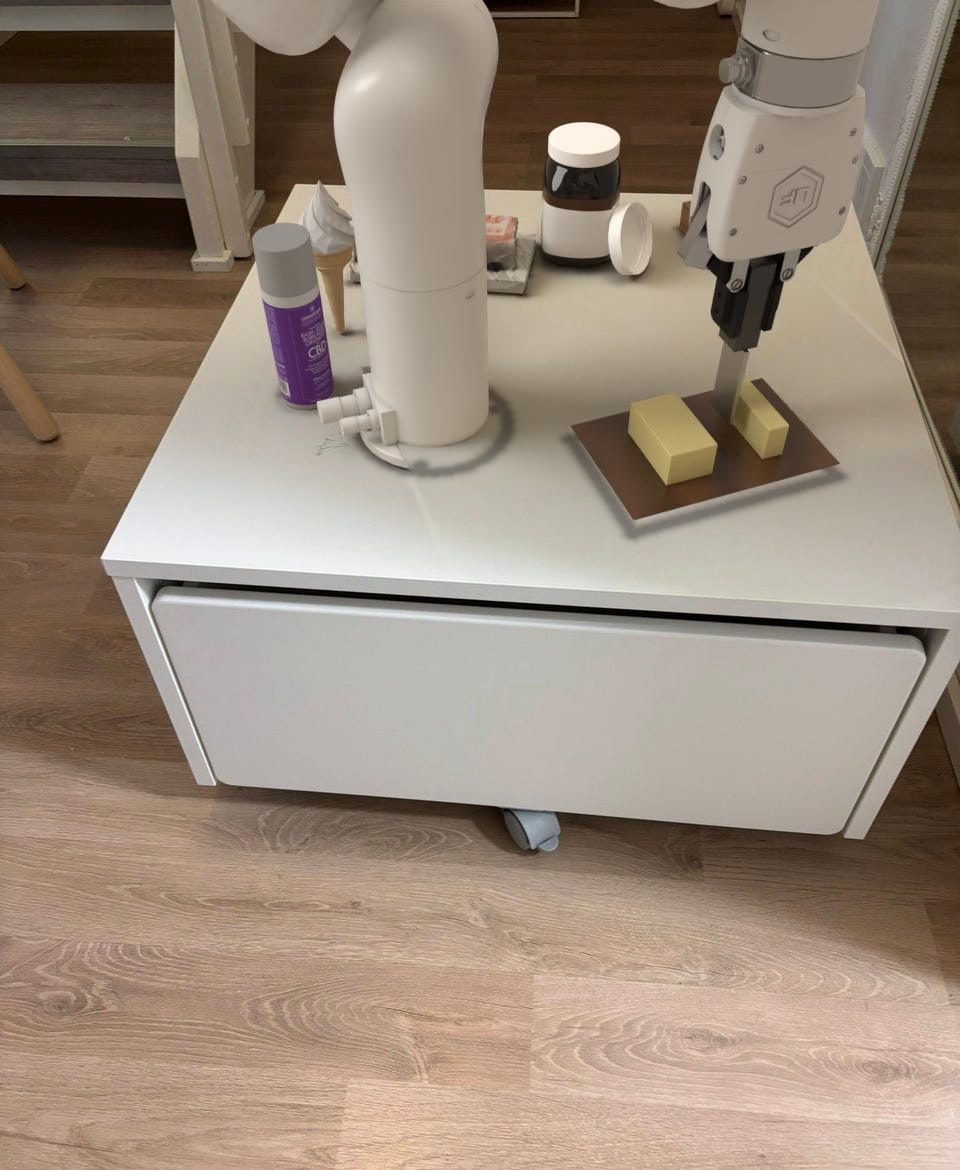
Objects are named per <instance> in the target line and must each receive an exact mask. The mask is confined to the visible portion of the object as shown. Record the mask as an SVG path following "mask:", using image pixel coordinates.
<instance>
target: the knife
mask: <svg viewBox="0 0 960 1170" xmlns="http://www.w3.org/2000/svg"><path fill="white" fill-rule="evenodd" d="M776 266H777V263H776V262H775V261H774V260H773V259H772V258H771V257H770V256H769V255H768V256H763V257H758V258H753V259H750V261H749V266H748V270H747V275H746V279H745V284H744V287H745V288H746V290H748V291H749V297H748V302H747V306H746V311H745V315H744V320H743V324H742V329H741V333H740V335H739V336H738V338H734V339H729V338H728V336H727V335H726V334H725V333H724V332H723V331H722V330H721V329H720V328H719V331H718V337H720V338H721V340H722V341H723V343H722V348H721V352H720V357H719V362H718V366H717V372H716V376H715V381H714V385H713V389H712V390H713V395H712V400H711V405H712V407H713V408H714V409H715V410H716V411H717V413H718V414H719V415H720V416H721V418H722V419H723V420H724V421H725V422H726V424H727V425H728V426H731V425H733V421H734V417H735V413H736V408H737V404H738V400H739V395H740V391H741V387H742V383H743V378H744V375H745V373H746V370H747V365H748V361H749V356H750V350H751V349H755V348H758V345H759V342H760V337H761V333H762V330H761V327H762V323H763V319H764V315H765V310H766V306H767V302H768V298H769V293H770V289H771V286H772V283H773V278H774V274H775V270H776Z"/></svg>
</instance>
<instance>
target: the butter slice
mask: <svg viewBox="0 0 960 1170" xmlns="http://www.w3.org/2000/svg"><path fill="white" fill-rule="evenodd" d="M750 381H751V380H750V379H749V378H748V376H746V375H745V374H744V378H743V383H742V387H741V391H740V395H739V400H738V404H737V408H736V413H735V417H734V421H733V425H734V426H735V427H736V428H737V430H738V431H739V432H740V433H741V434H742V436H743V437H744V438H745V439H746V440H747V442H748V443H749V444H750V445H751V446H752V448H753V449H754V450H755V451H756V452H757V454H758V455H759V456H760V457H761V458H762V459H766V458H770V457H774V456H777V455H781V454H782V451H783V448H784V444H785V440H786V436H787V432H788V429H789V424H788V423H787V422H786V421H785V420H784V419H783V418H782V416H781V415H780V414H779V413H778V412H777V411H776V410H775V409H774V407H773V406H772V405H771V404H770V403H769V402H768V401H767V400H766V398H765V397H764V396H763V395H762V394H761V393H760V392H759V391H758V389H757V388H756V387H755V386H754V385H753V384H752V383H751V382H750Z"/></svg>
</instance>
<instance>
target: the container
mask: <svg viewBox="0 0 960 1170" xmlns="http://www.w3.org/2000/svg"><path fill="white" fill-rule="evenodd" d="M251 241H252V247H253V253H254V259H255V264H256V271H257V277H258V282H259V283H258V284H259V288H260V294H261V300H262V301H261V302H262V305H263V310H264V314H265V320H266V324H267V329H268V336H269V340H270V345H271V349H272V354H273V355H272V356H273V359H274V360H273V361H274V366H275V369H276V374H277V380H278V385H279V390H280V394H281V399H282V401H283V402H284V404H285V405H287V406H288V407H290V408H293V409H295V410H301V411H308V410H314V409H318V408H317V401H321V400H326V399H330V398H334V397H335V394H336V393H335V392H336V390H335V382H334V375H333V368H332V363H331V361H332V360H331V357H330V356H331V355H330V349H329V342H328V337H327V329H326V322H325V317H324V310H323V302H322V298H321V289H320V284H319V279H318V274H317V273H318V272H317V269H316V267H315V261H314V256H313V250H312V245H311V239H310V234H309V231H308V230H307V229H306V228H305V227H303V226H301V225H299V224H297V223H294V222H277V223H271V224H267V225H265V226H263V227H261V228H259V229H258V230H257V231H256V232H254V234H253V236H252V237H251Z"/></svg>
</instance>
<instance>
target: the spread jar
mask: <svg viewBox="0 0 960 1170" xmlns="http://www.w3.org/2000/svg"><path fill="white" fill-rule="evenodd" d="M547 142H548V143H547V146H548V147H547V152H548V155H547V157H546V160H545V162H544V167H543V174H542V187H541V189H542V191H541V192H542V193H541V224H540V244H541V250H542V253H543V255H544V256H545V257H546V258H548V259H549V260H551V261H553V262H555V263H557V264H559V265H563V266H566V267H574V268H581V267H582V268H585V267H592V266H595V265H598V264H602V263H603V262H605V261H607V260H608V259H610V260H611V263H612V266H613V267H614V269H615V270H616V271H617V273H619V274H620V275H623V276H637V275H641V274H642V273H644V271H645V270H646V268H647V267H648V265H649V262H650V260H651V256H652V251H653V244H654V243H653V242H654V237H653V236H654V235H653V232H654V231H653V225H652V220H651V216H650V214H649V211H648V209H647V208H646V207H645V205H644V204H642V202H639V201H629V202H622V203H620V198H621V187H622V186H621V185H622V170H621V169H622V167H621V162H620V158H619V154H620V145H621V136H620V134H619V133H618V132H617V131H616V130H615V129H614V128H611V127H609V126H607V125H605V124H601V123H596V122H586V121H585V122H582V121H581V122H570V123H566V124H563V125H560V126H558V127H556V128H554V129H552V131H551V132H550V133H549V134H548V141H547Z"/></svg>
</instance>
